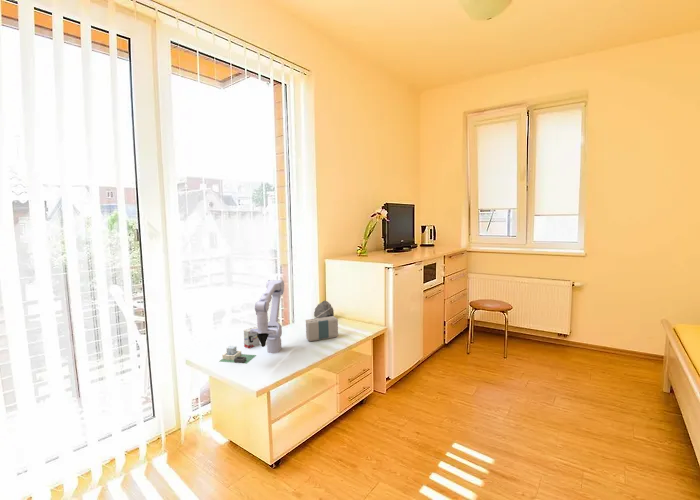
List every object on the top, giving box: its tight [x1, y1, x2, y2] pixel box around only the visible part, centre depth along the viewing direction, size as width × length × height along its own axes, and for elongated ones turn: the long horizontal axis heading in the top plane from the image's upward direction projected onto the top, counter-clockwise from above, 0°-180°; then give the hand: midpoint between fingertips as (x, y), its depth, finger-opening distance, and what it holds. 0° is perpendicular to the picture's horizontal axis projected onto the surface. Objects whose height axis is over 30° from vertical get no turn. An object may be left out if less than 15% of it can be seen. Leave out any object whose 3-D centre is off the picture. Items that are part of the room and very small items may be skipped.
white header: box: [221, 350, 242, 360], centre depth 209 cm, size 8×8×2 cm
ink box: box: [243, 326, 261, 349], centre depth 227 cm, size 9×5×12 cm, turn 137°
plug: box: [226, 345, 238, 355], centre depth 209 cm, size 4×4×6 cm
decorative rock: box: [313, 300, 335, 318], centre depth 285 cm, size 16×7×15 cm, turn 62°
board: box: [218, 353, 257, 364], centre depth 208 cm, size 12×17×1 cm
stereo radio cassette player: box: [305, 306, 339, 342], centre depth 241 cm, size 21×8×20 cm, turn 114°
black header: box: [233, 356, 246, 364], centre depth 203 cm, size 5×4×2 cm
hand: (263, 346), depth 201 cm, fingers closed
